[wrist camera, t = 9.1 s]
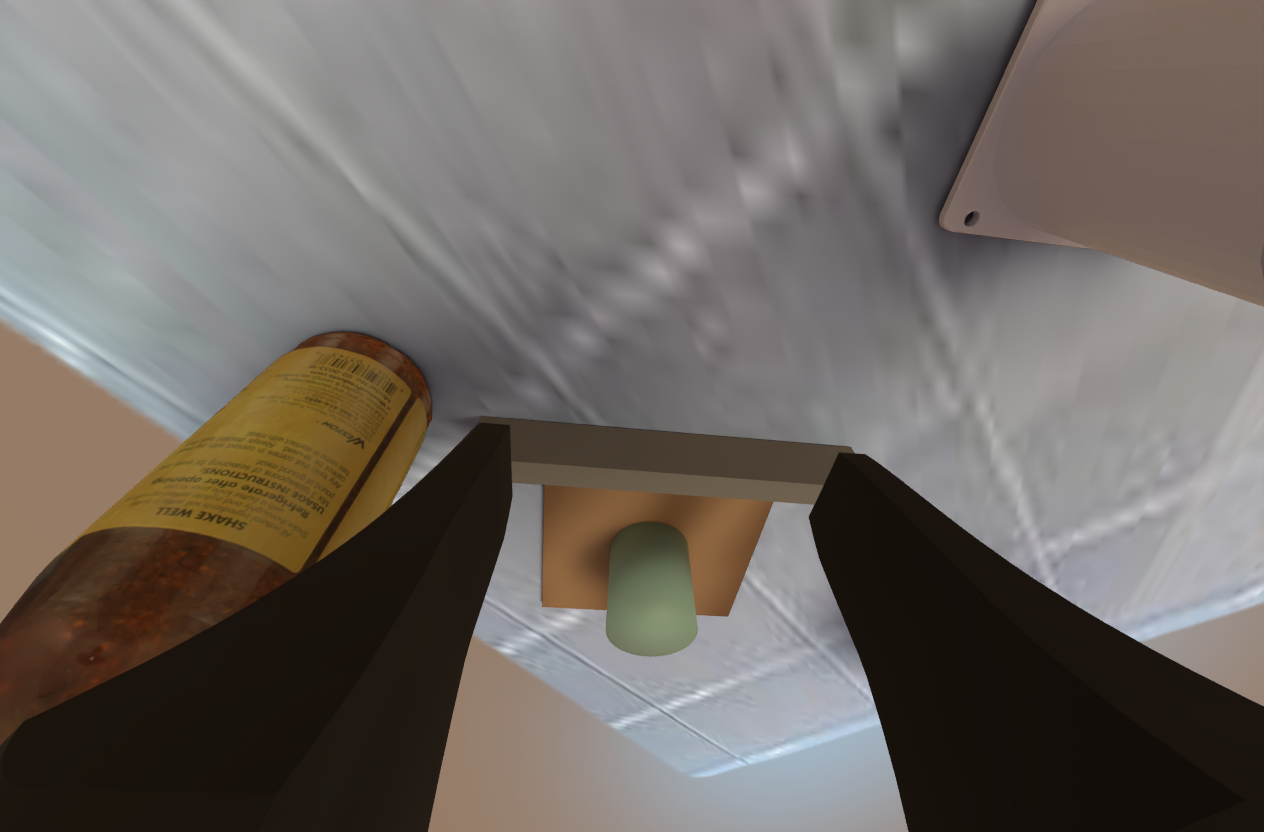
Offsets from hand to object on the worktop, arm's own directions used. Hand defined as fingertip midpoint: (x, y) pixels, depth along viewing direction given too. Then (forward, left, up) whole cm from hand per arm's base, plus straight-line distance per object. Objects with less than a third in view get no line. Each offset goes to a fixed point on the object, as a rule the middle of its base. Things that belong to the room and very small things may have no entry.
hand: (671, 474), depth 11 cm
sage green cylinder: (-2, +14, -10) cm, 18 cm away
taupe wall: (-2, +7, -10) cm, 13 cm away
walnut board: (-2, +15, -10) cm, 18 cm away
